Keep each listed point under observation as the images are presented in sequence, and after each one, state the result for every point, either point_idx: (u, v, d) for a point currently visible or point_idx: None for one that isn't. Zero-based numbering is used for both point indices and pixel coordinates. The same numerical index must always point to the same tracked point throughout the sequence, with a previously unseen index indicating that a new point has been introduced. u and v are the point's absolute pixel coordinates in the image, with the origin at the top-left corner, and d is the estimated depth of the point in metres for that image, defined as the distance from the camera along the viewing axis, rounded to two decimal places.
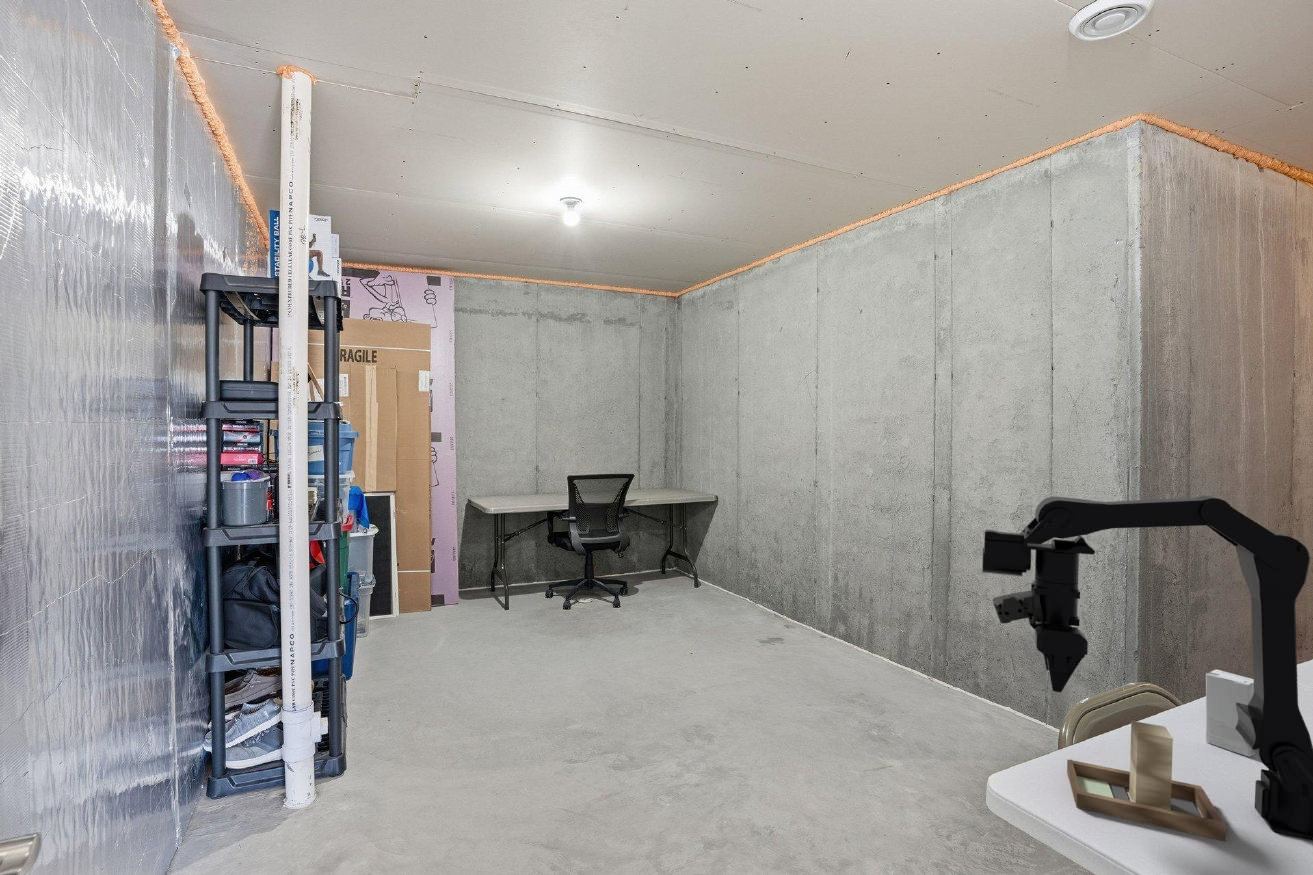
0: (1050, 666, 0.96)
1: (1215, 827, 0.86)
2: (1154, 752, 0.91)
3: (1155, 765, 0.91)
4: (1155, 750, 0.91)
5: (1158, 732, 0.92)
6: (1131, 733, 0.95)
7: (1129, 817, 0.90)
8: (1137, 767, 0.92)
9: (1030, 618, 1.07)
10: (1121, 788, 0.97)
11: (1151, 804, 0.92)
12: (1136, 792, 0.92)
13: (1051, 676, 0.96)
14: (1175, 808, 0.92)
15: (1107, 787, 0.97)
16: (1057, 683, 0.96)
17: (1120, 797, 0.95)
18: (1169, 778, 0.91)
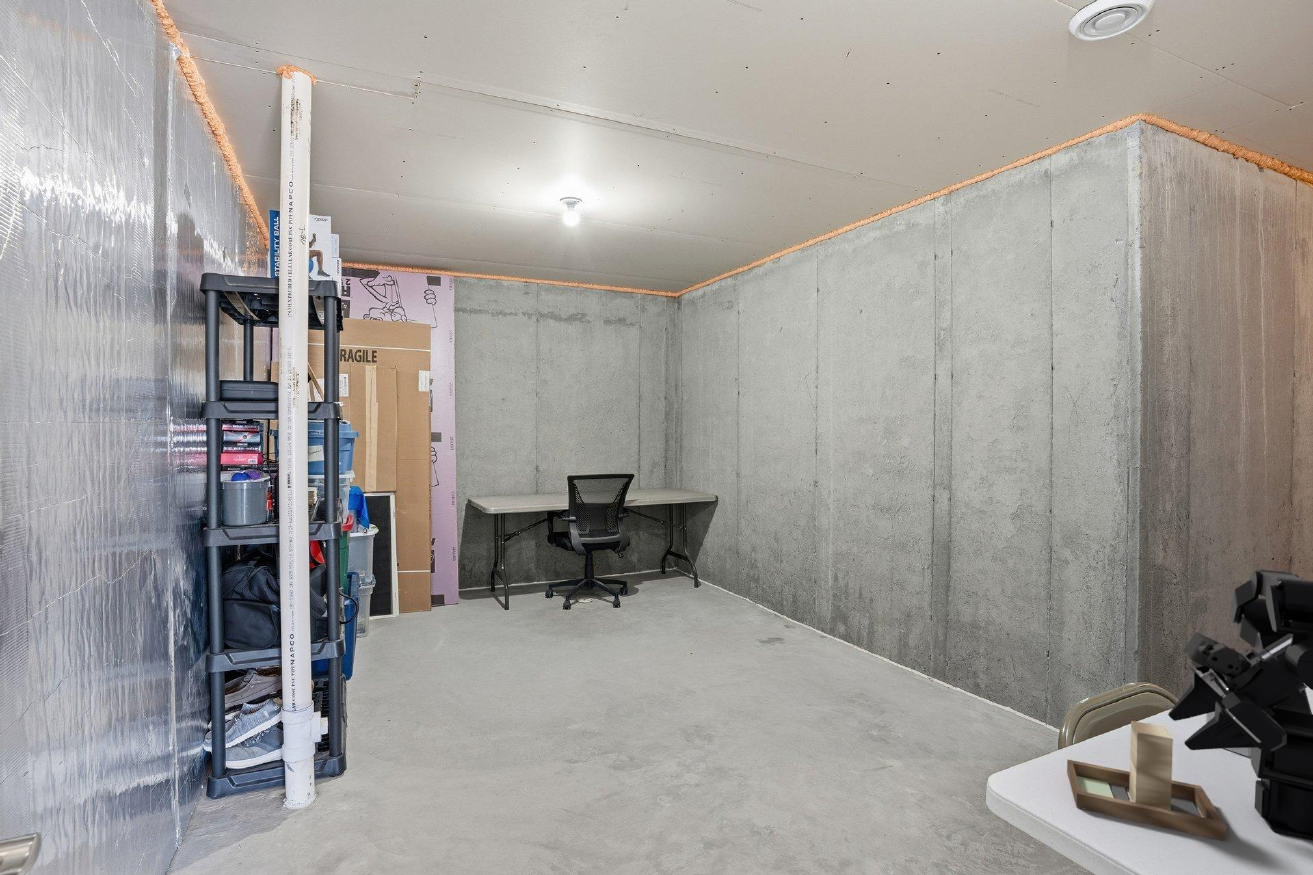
0: (1211, 728, 0.86)
1: (1215, 827, 0.86)
2: (1154, 752, 0.91)
3: (1155, 765, 0.91)
4: (1155, 750, 0.91)
5: (1158, 732, 0.92)
6: (1131, 733, 0.95)
7: (1129, 817, 0.90)
8: (1137, 767, 0.92)
9: (1198, 668, 0.95)
10: (1121, 788, 0.97)
11: (1151, 804, 0.92)
12: (1136, 792, 0.92)
13: (1199, 734, 0.86)
14: (1175, 808, 0.92)
15: (1107, 787, 0.97)
16: (1197, 742, 0.87)
17: (1120, 797, 0.95)
18: (1169, 778, 0.91)
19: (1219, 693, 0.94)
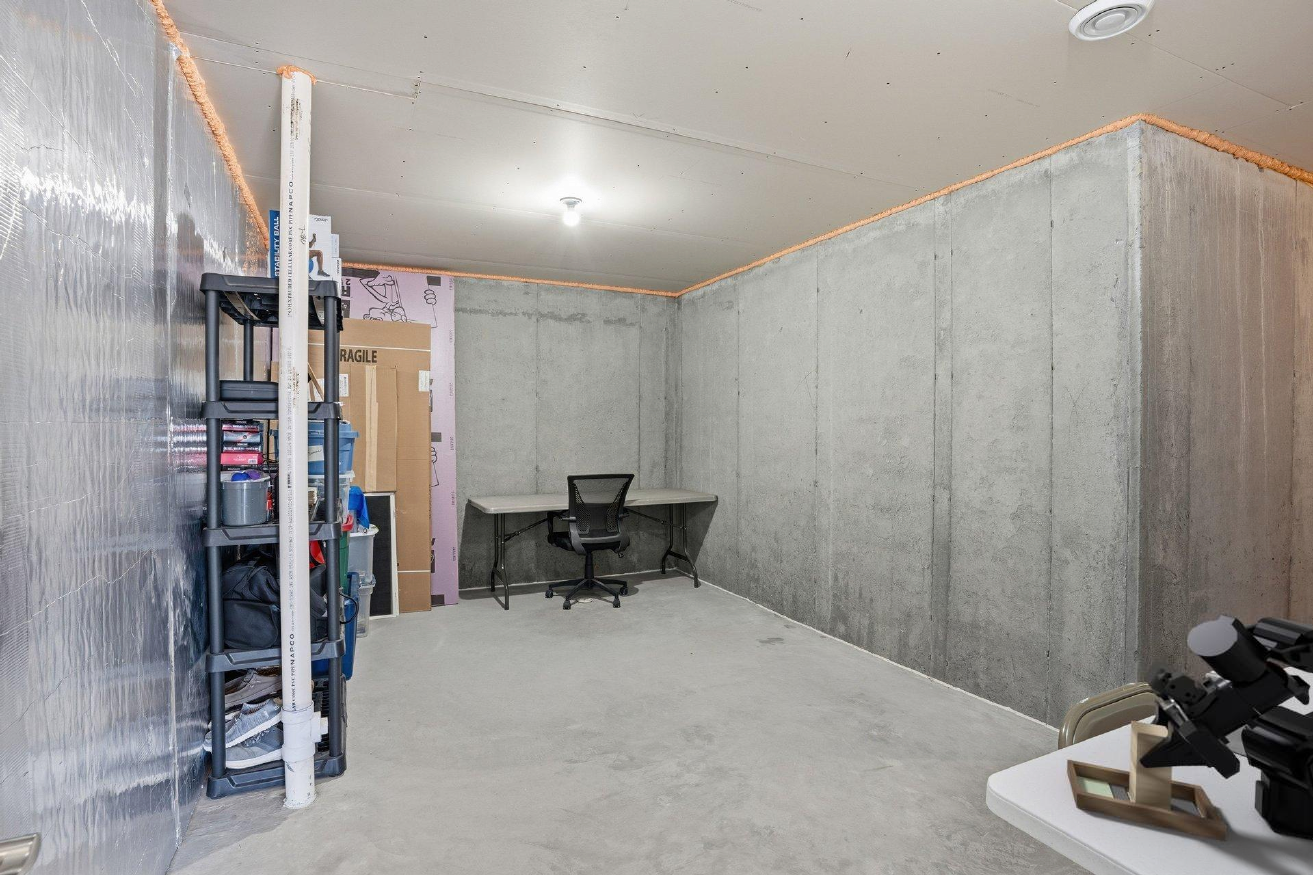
0: (1163, 747, 0.90)
1: (1215, 827, 0.86)
2: None
3: None
4: None
5: (1158, 732, 0.92)
6: (1131, 733, 0.95)
7: (1129, 817, 0.90)
8: (1137, 767, 0.92)
9: (1158, 695, 0.98)
10: (1121, 788, 0.97)
11: (1151, 804, 0.92)
12: (1136, 792, 0.92)
13: (1153, 753, 0.91)
14: (1175, 808, 0.92)
15: (1107, 787, 0.97)
16: (1151, 760, 0.91)
17: (1120, 797, 0.95)
18: (1169, 778, 0.91)
19: None
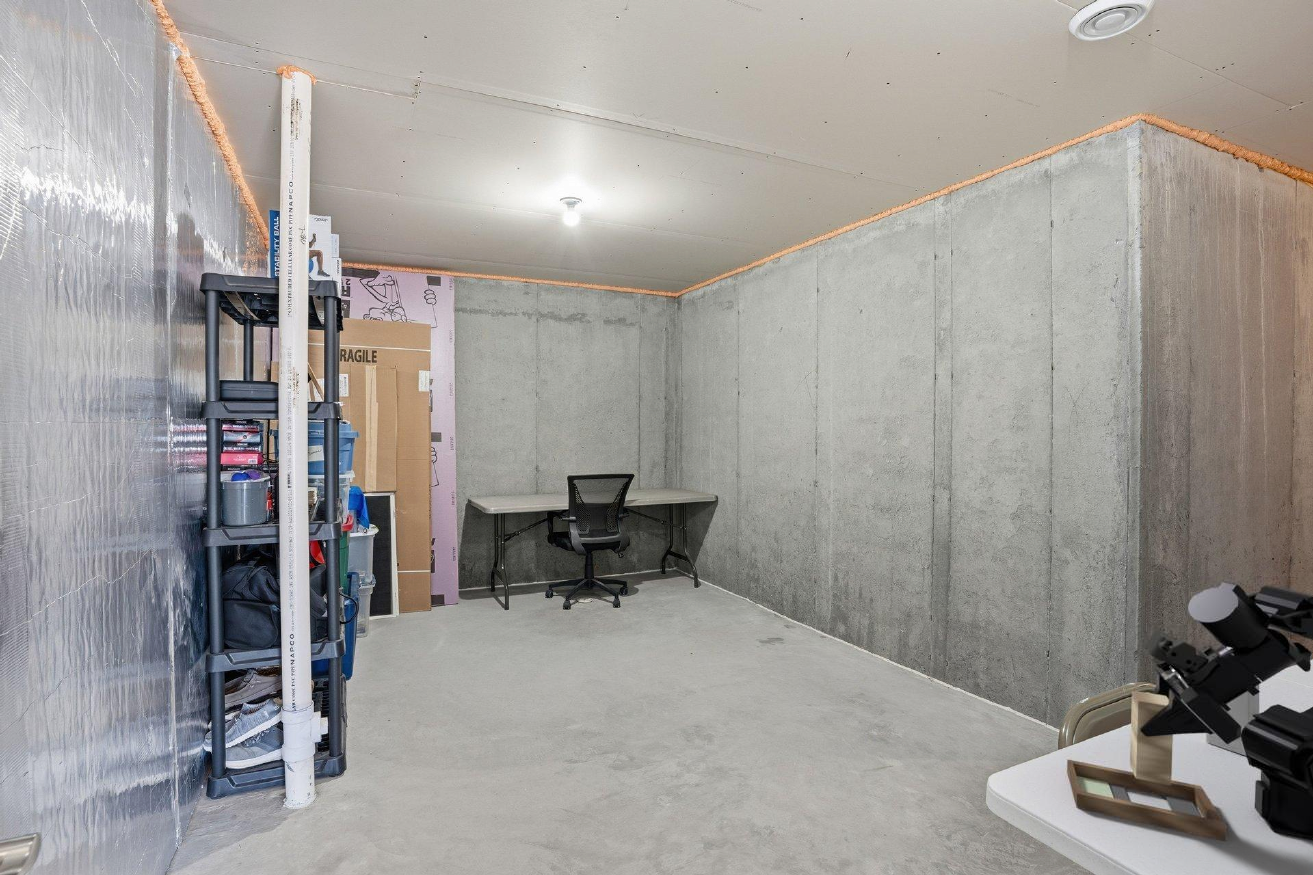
0: (1164, 715, 0.89)
1: (1215, 827, 0.86)
2: None
3: None
4: None
5: (1159, 701, 0.92)
6: (1132, 703, 0.95)
7: (1129, 817, 0.90)
8: (1138, 736, 0.92)
9: (1159, 665, 0.97)
10: (1121, 788, 0.97)
11: (1152, 773, 0.91)
12: (1137, 761, 0.92)
13: (1154, 721, 0.90)
14: (1175, 808, 0.92)
15: (1107, 787, 0.97)
16: (1152, 729, 0.91)
17: (1120, 797, 0.95)
18: (1170, 746, 0.91)
19: None
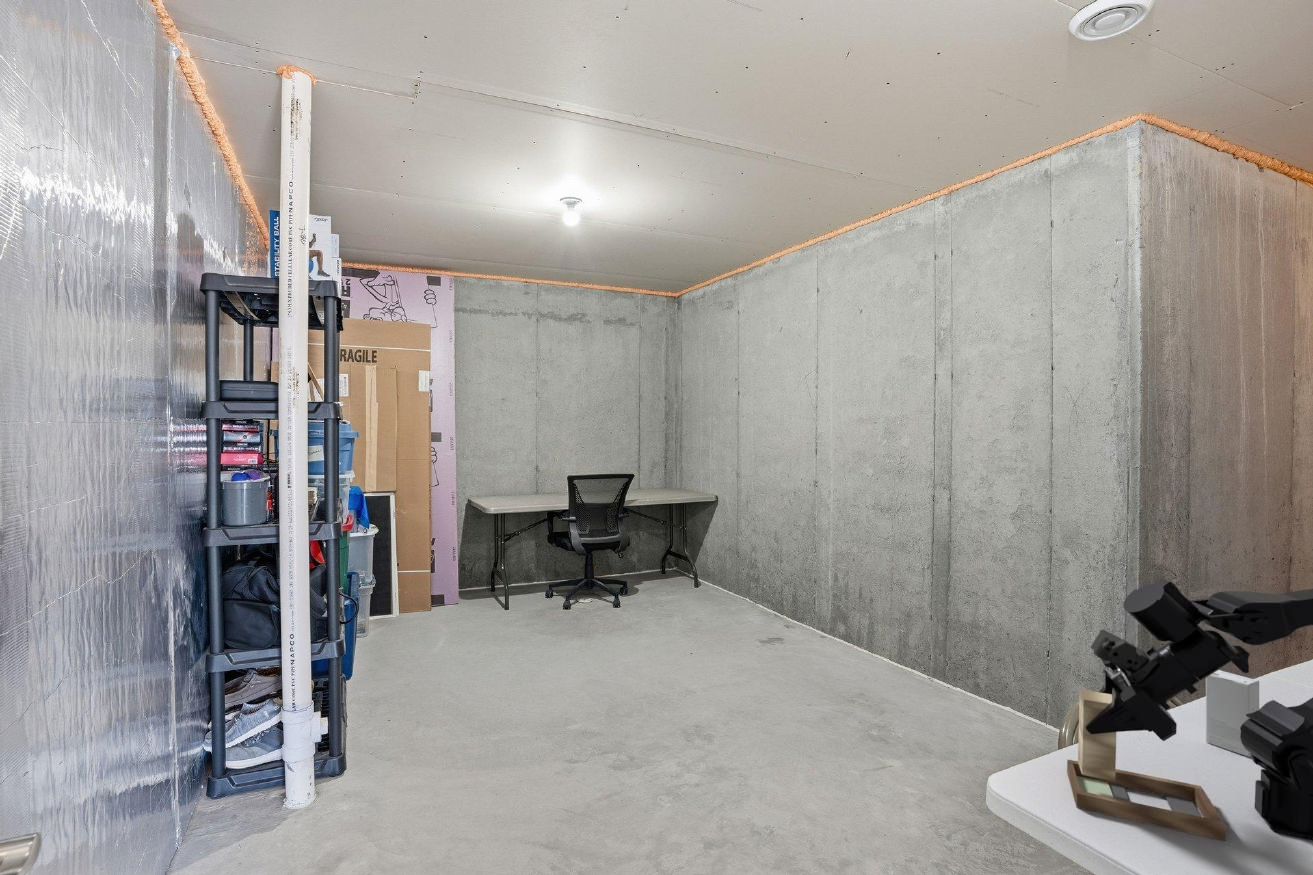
0: (1107, 713, 0.92)
1: (1215, 827, 0.86)
2: None
3: None
4: None
5: (1104, 699, 0.95)
6: (1079, 701, 0.98)
7: (1129, 817, 0.90)
8: (1083, 733, 0.95)
9: (1106, 665, 1.00)
10: (1121, 788, 0.97)
11: (1097, 769, 0.94)
12: (1083, 758, 0.95)
13: (1098, 719, 0.93)
14: (1175, 808, 0.92)
15: (1107, 787, 0.97)
16: (1096, 727, 0.94)
17: (1120, 797, 0.95)
18: (1114, 743, 0.93)
19: None
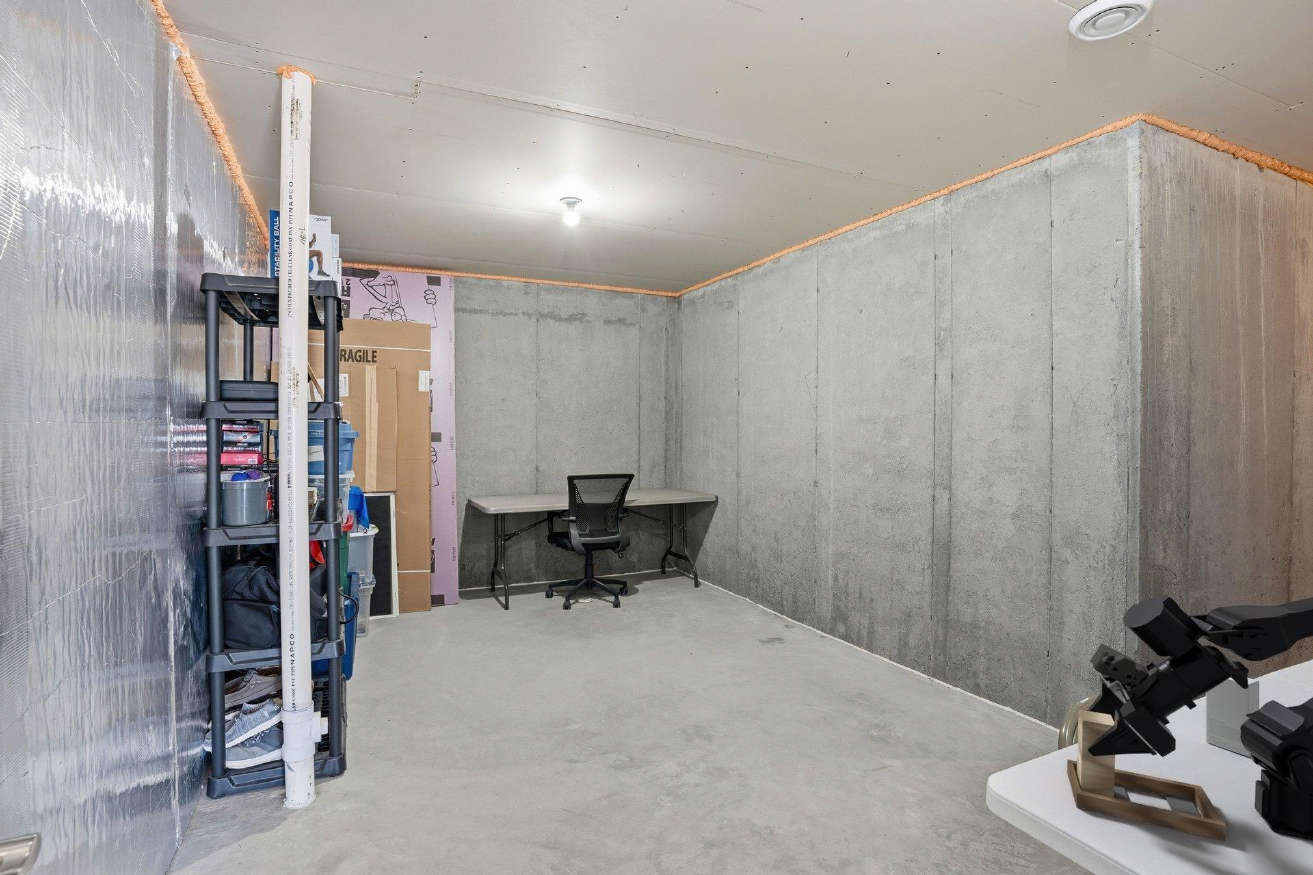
0: (1110, 735, 0.90)
1: (1215, 827, 0.86)
2: None
3: None
4: None
5: (1103, 720, 0.95)
6: (1078, 721, 0.98)
7: (1129, 817, 0.90)
8: (1082, 754, 0.95)
9: (1106, 678, 1.00)
10: (1121, 788, 0.97)
11: (1095, 790, 0.94)
12: (1081, 778, 0.95)
13: (1100, 741, 0.91)
14: (1175, 808, 0.92)
15: None
16: (1098, 749, 0.92)
17: (1120, 797, 0.95)
18: (1112, 764, 0.94)
19: (1124, 702, 0.99)
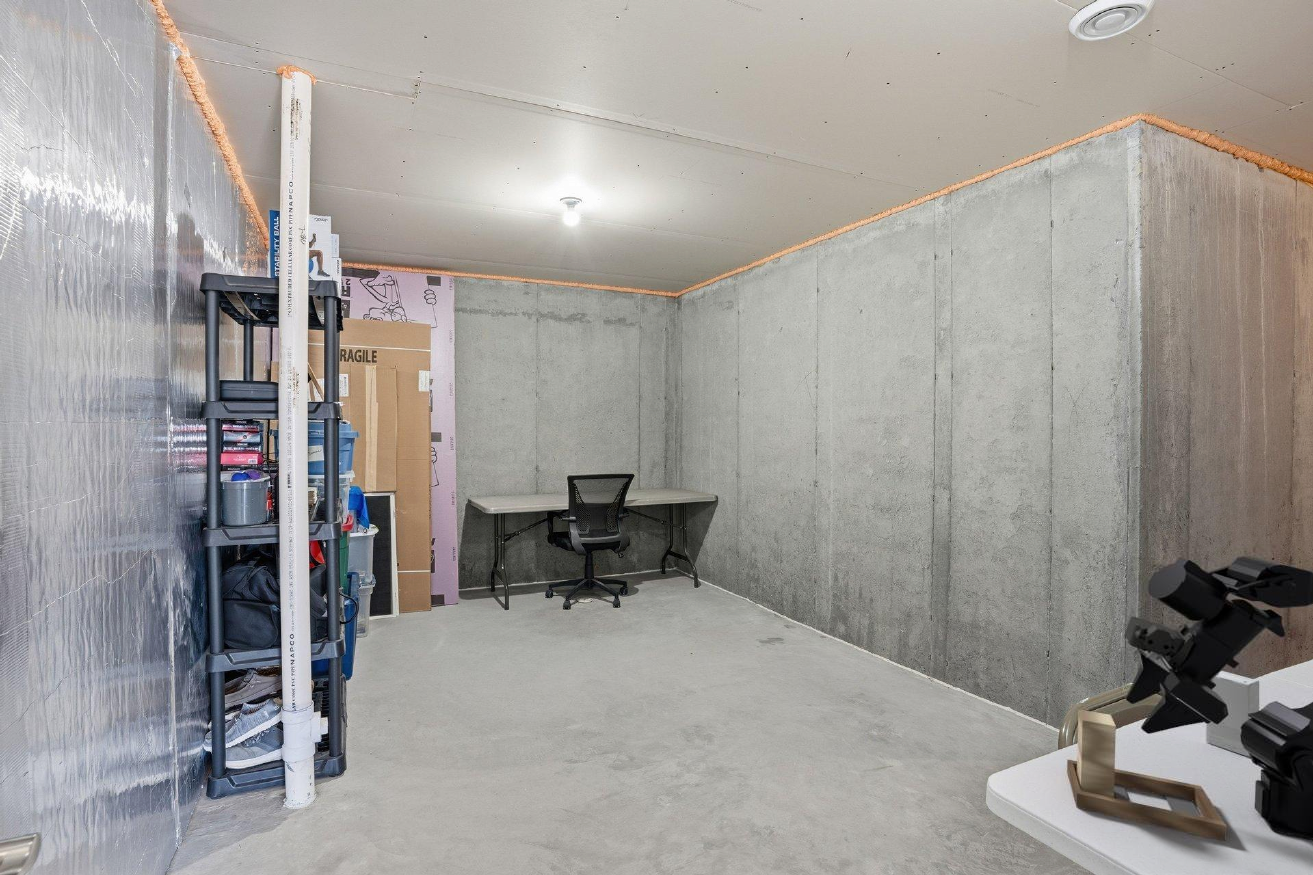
0: (1160, 710, 0.89)
1: (1215, 827, 0.86)
2: (1098, 739, 0.94)
3: (1099, 752, 0.94)
4: (1099, 737, 0.94)
5: (1102, 720, 0.95)
6: (1078, 721, 0.98)
7: (1129, 817, 0.90)
8: (1082, 754, 0.95)
9: (1143, 649, 0.99)
10: (1121, 788, 0.97)
11: (1095, 790, 0.94)
12: (1081, 778, 0.95)
13: (1152, 717, 0.89)
14: (1175, 808, 0.92)
15: None
16: (1152, 725, 0.90)
17: (1120, 797, 0.95)
18: (1112, 764, 0.94)
19: (1167, 670, 0.97)
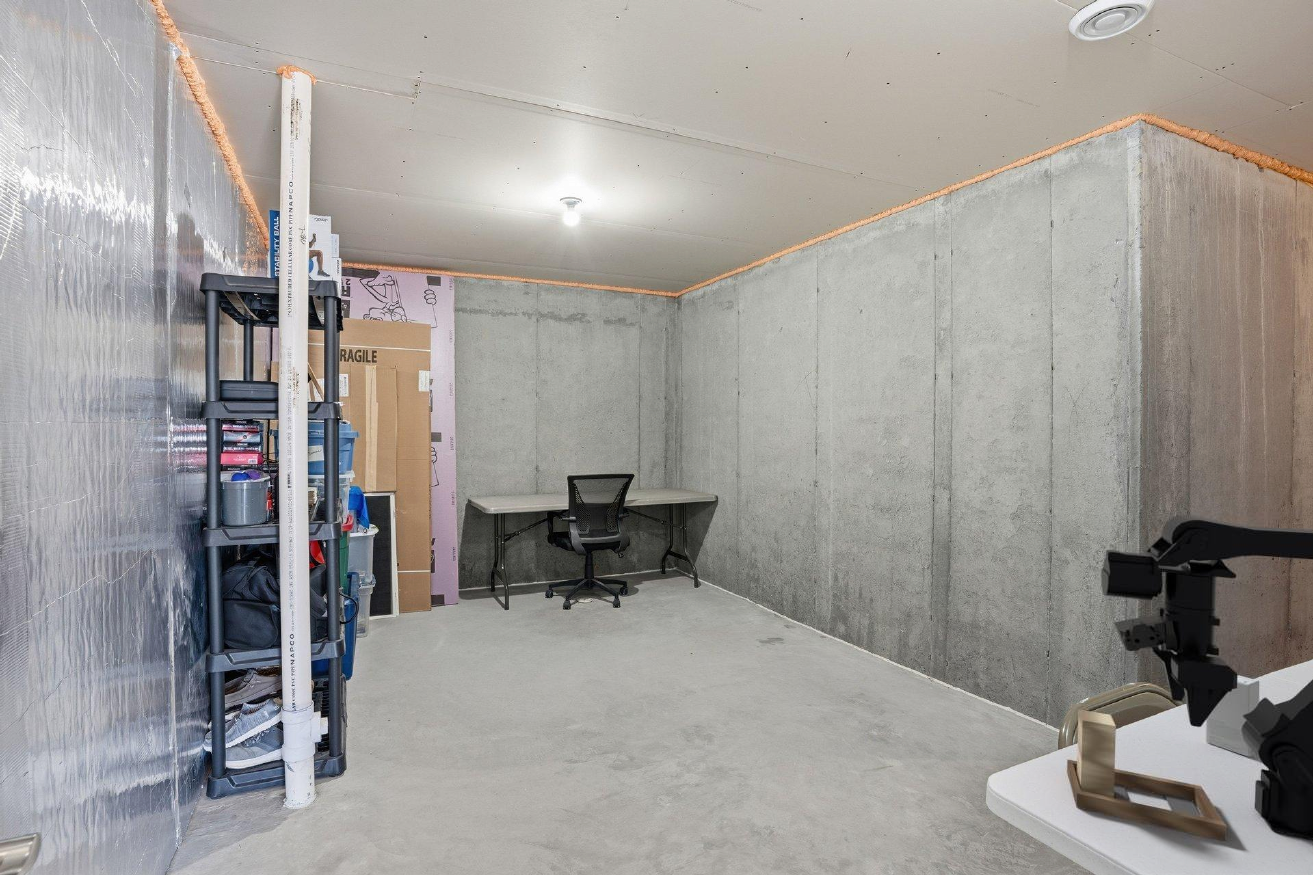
0: (1189, 699, 0.89)
1: (1215, 827, 0.86)
2: (1098, 739, 0.94)
3: (1099, 752, 0.94)
4: (1099, 737, 0.94)
5: (1102, 720, 0.95)
6: (1078, 721, 0.98)
7: (1129, 817, 0.90)
8: (1082, 754, 0.95)
9: None
10: (1121, 788, 0.97)
11: (1095, 790, 0.94)
12: (1081, 778, 0.95)
13: (1190, 710, 0.89)
14: (1175, 808, 0.92)
15: None
16: (1196, 717, 0.89)
17: (1120, 797, 0.95)
18: (1112, 764, 0.94)
19: None
